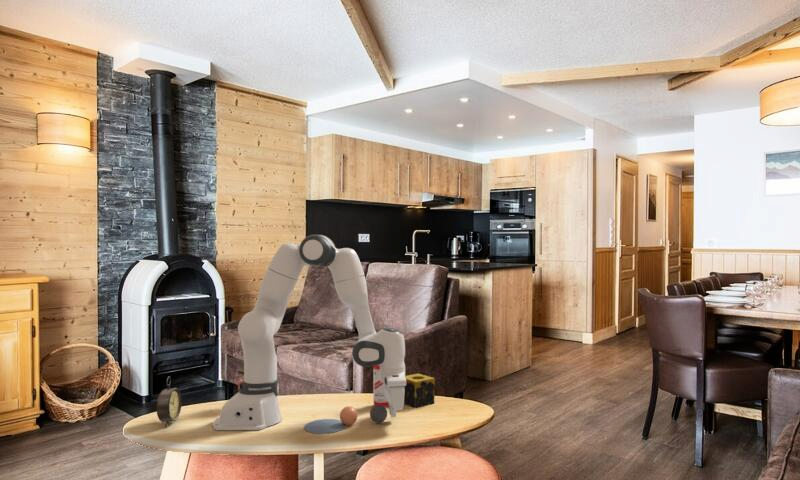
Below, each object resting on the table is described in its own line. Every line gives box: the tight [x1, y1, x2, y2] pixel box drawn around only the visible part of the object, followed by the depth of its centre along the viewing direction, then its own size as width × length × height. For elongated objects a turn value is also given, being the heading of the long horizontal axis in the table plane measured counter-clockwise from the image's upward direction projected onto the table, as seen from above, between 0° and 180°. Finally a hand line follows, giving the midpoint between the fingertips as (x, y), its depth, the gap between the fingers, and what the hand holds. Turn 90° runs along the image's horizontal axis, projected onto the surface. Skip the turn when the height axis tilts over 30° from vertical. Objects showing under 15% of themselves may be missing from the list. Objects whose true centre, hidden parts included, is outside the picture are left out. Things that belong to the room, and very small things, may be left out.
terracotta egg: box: [339, 406, 358, 426], centre depth 167 cm, size 6×6×6 cm
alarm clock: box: [156, 376, 182, 429], centre depth 170 cm, size 11×5×16 cm, turn 3°
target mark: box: [304, 418, 347, 435], centre depth 166 cm, size 14×14×1 cm
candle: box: [404, 373, 435, 409], centre depth 192 cm, size 10×10×10 cm
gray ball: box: [369, 405, 388, 424], centre depth 169 cm, size 6×6×6 cm
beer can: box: [372, 365, 389, 408], centre depth 189 cm, size 6×6×16 cm
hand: (392, 416), depth 170 cm, fingers closed
